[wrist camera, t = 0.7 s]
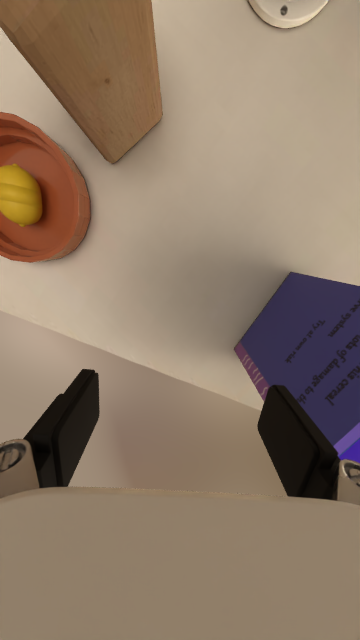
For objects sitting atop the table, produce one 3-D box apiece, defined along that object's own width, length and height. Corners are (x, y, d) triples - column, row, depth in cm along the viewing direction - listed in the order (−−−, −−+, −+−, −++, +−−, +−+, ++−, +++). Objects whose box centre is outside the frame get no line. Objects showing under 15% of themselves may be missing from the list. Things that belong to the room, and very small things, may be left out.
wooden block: (112, 169, 30) (9, 40, 11) (62, 98, 28) (-185, -227, 9) (166, 119, 28) (146, -132, 10) (117, 37, 26) (-43, -542, 7)
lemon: (10, 167, 30) (-23, 151, 25) (47, 173, 30) (22, 159, 25) (17, 226, 32) (-12, 222, 27) (51, 230, 32) (29, 227, 28)
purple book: (252, 359, 42) (344, 491, 19) (233, 348, 41) (305, 475, 18) (310, 285, 37) (527, 345, 14) (290, 271, 36) (486, 312, 13)
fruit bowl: (-38, 121, 28) (-75, 98, 24) (90, 142, 29) (76, 125, 25) (-15, 252, 34) (-42, 253, 30) (92, 266, 35) (80, 269, 31)
